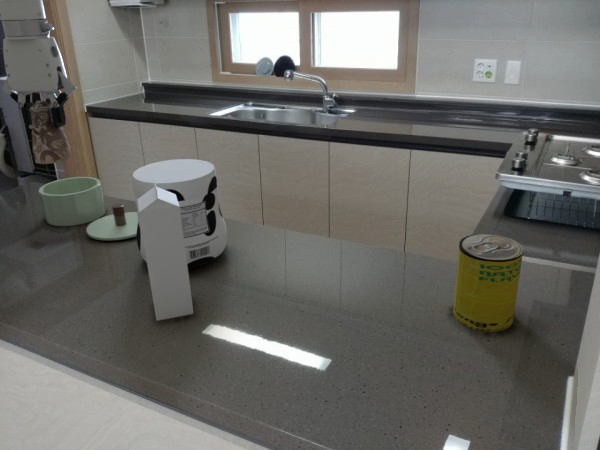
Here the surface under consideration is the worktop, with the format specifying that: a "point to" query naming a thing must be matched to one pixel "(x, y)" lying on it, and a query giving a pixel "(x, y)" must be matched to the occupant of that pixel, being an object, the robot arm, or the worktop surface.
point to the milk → (165, 253)
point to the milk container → (188, 205)
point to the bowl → (72, 201)
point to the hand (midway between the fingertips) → (46, 125)
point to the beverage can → (487, 281)
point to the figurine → (47, 135)
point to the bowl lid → (114, 225)
